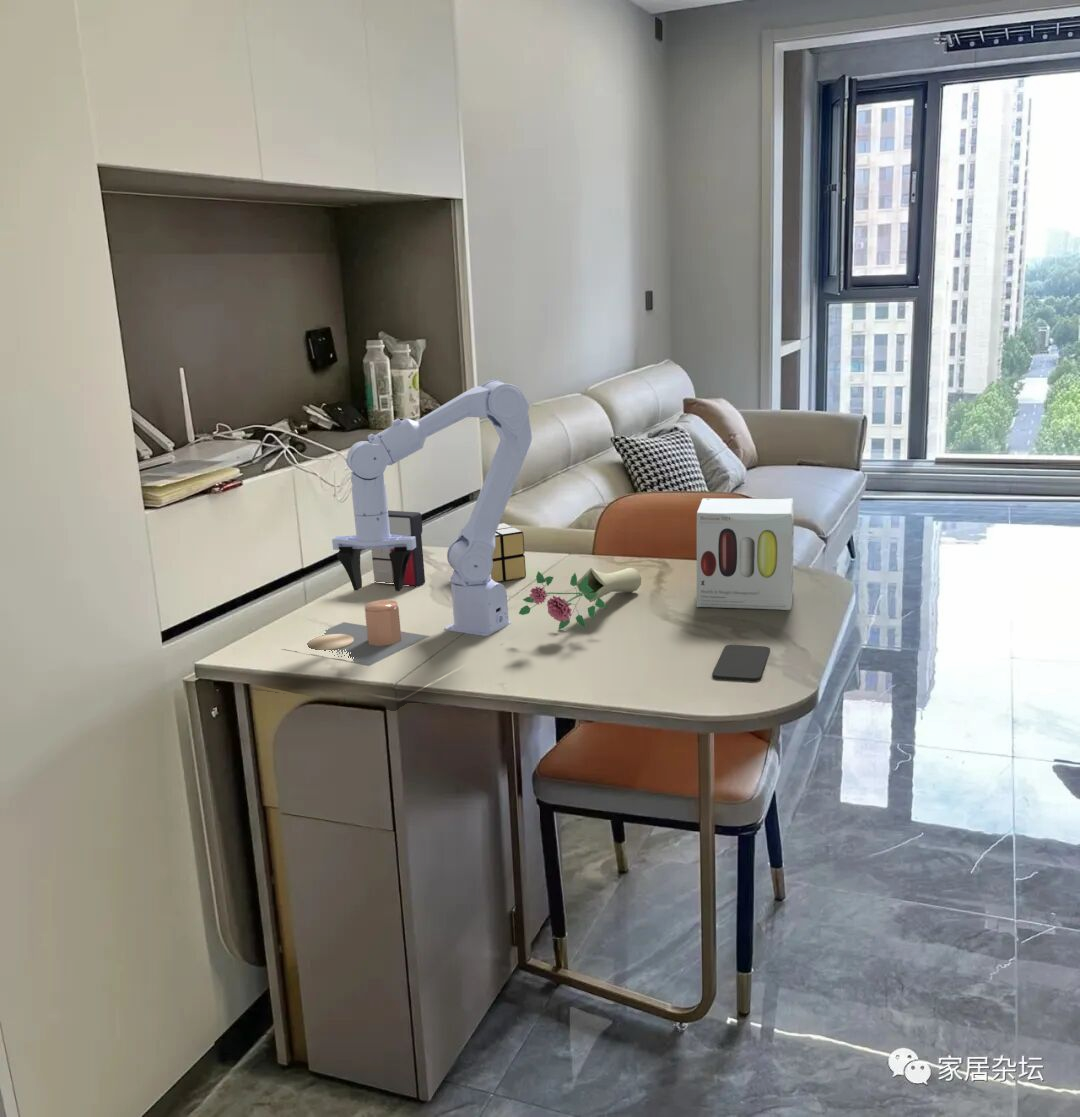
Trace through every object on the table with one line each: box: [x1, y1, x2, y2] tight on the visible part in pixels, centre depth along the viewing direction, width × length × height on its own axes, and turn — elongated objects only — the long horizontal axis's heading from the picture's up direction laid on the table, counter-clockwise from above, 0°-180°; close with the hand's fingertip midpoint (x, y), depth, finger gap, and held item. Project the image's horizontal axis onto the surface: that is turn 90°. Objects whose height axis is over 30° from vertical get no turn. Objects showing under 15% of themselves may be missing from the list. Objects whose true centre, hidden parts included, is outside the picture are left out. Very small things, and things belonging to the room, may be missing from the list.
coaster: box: [307, 634, 354, 651], centre depth 188 cm, size 8×8×1 cm
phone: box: [711, 644, 771, 683], centre depth 168 cm, size 7×1×15 cm
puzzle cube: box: [491, 522, 527, 583], centre depth 224 cm, size 10×10×10 cm
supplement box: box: [695, 497, 795, 611], centre depth 198 cm, size 17×13×18 cm
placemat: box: [322, 621, 430, 667], centre depth 187 cm, size 20×16×1 cm
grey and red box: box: [371, 510, 426, 588], centre depth 222 cm, size 11×4×15 cm, turn 62°
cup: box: [364, 599, 402, 646], centre depth 187 cm, size 6×6×6 cm
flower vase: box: [518, 567, 642, 630], centre depth 194 cm, size 12×12×35 cm
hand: (378, 589), depth 186 cm, fingers open, 7 cm apart
